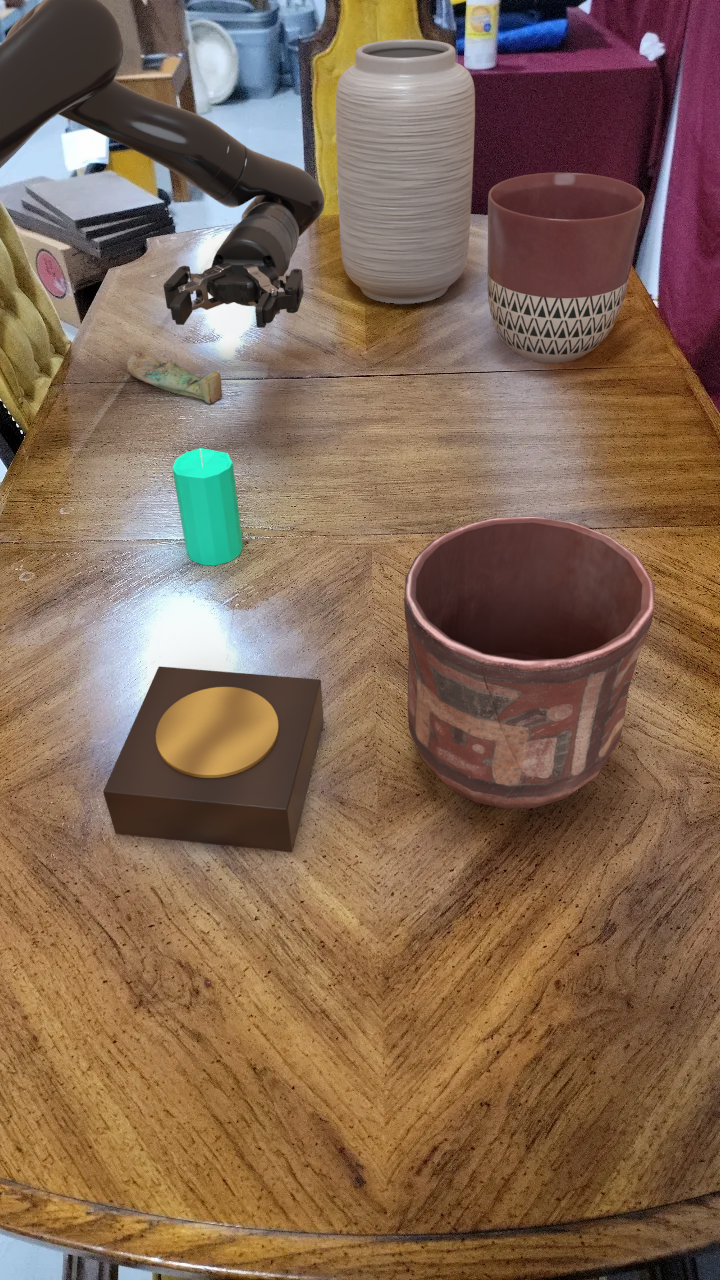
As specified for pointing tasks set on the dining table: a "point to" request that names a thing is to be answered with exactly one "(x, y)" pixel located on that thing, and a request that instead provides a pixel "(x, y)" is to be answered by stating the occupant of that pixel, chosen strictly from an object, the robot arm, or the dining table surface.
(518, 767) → the pottery
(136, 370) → the figurine
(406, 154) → the vase
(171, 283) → the robot arm
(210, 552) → the candle
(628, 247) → the planter
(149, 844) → the dining table surface
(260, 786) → the stand
